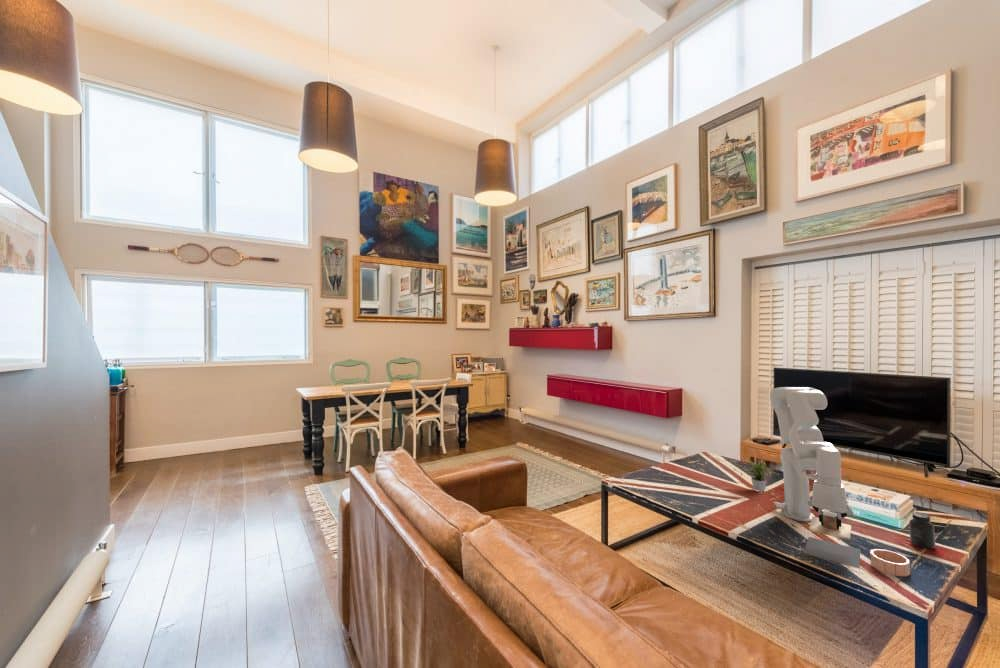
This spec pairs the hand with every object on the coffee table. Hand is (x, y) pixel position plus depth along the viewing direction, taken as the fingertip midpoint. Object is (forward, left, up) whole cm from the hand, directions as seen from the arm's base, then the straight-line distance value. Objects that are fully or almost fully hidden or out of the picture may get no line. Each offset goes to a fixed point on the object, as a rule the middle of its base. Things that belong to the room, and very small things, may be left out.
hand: (830, 525), depth 155 cm
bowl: (+16, -2, -11) cm, 20 cm away
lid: (0, 0, -1) cm, 1 cm away
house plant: (-34, +54, -11) cm, 65 cm away
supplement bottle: (+26, +28, -11) cm, 40 cm away
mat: (0, -1, -11) cm, 11 cm away
